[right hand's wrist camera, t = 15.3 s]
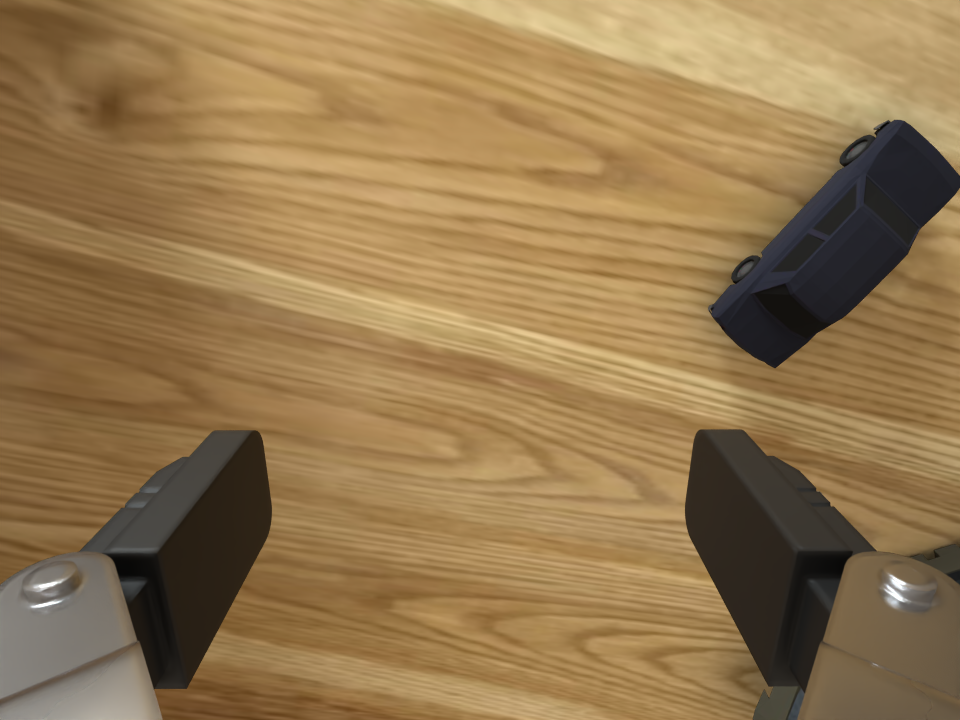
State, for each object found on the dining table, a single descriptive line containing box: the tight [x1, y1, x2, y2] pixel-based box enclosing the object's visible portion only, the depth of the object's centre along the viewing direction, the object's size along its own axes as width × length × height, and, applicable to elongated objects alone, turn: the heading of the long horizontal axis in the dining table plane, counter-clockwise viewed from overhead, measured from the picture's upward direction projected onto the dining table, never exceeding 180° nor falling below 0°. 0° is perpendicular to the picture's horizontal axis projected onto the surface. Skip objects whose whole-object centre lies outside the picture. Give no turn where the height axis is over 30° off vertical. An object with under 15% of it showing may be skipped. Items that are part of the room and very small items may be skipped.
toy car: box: [708, 120, 960, 368], centre depth 35 cm, size 6×15×5 cm, turn 142°
